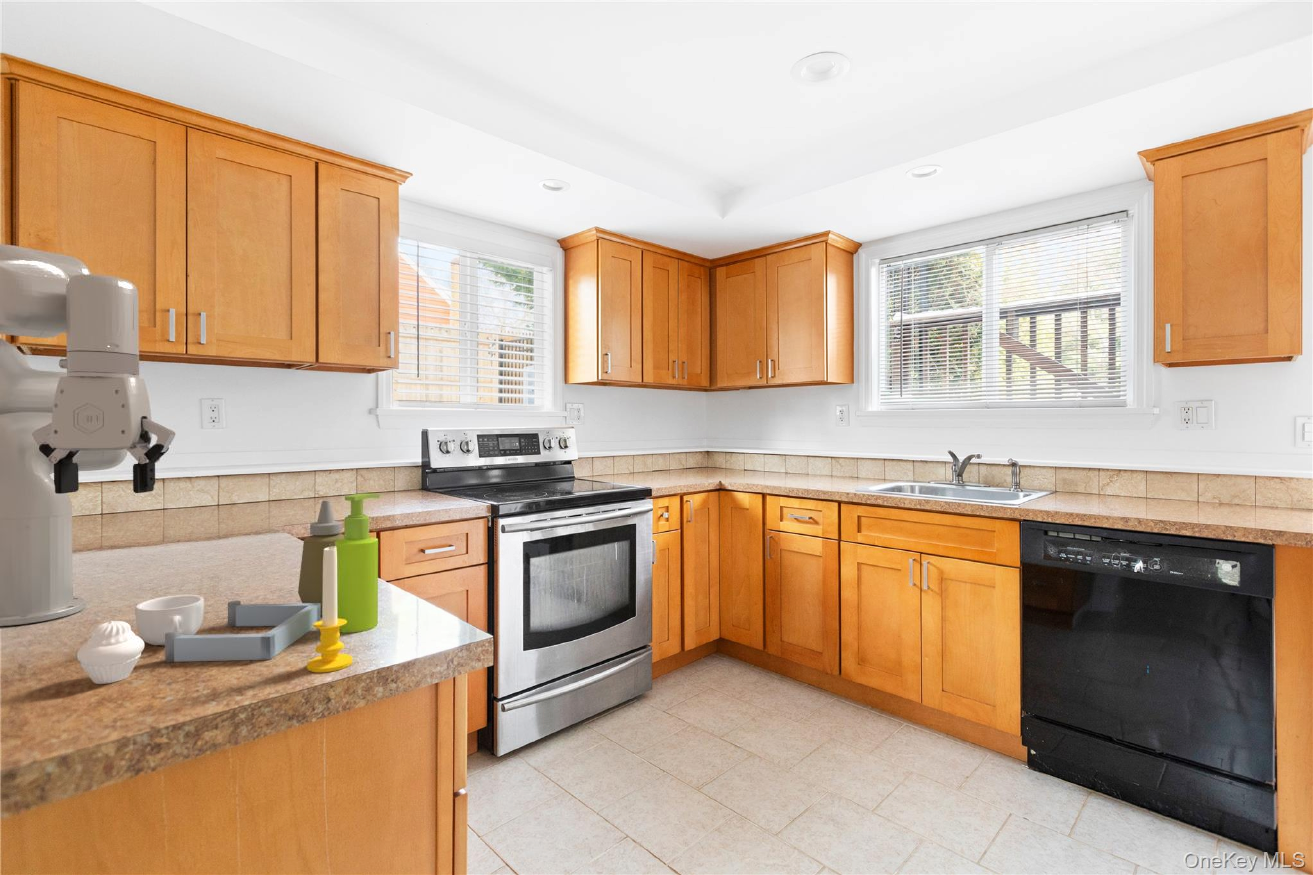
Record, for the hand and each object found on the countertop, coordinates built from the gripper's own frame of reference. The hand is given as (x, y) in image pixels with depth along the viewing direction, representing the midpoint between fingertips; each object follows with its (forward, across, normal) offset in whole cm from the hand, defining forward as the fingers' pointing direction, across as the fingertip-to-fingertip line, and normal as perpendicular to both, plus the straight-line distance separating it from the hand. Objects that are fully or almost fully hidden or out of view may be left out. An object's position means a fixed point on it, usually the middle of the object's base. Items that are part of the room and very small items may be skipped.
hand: (105, 492), depth 88 cm
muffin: (+21, +9, -13) cm, 27 cm away
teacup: (+21, +8, 0) cm, 23 cm away
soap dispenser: (+21, +32, +5) cm, 38 cm away
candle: (+21, +33, -11) cm, 41 cm away
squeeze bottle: (+21, +24, +14) cm, 34 cm away
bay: (+21, +18, 0) cm, 28 cm away
